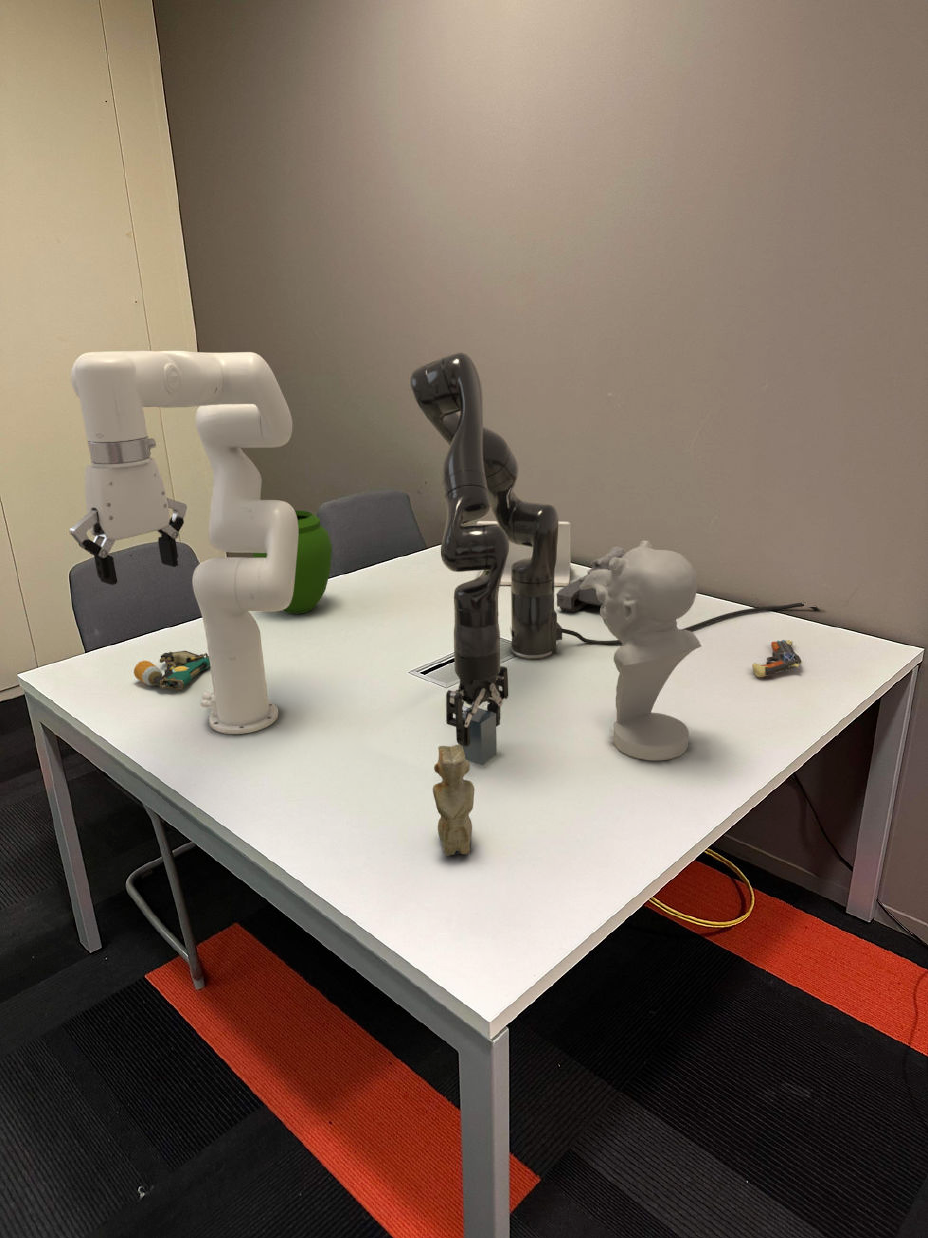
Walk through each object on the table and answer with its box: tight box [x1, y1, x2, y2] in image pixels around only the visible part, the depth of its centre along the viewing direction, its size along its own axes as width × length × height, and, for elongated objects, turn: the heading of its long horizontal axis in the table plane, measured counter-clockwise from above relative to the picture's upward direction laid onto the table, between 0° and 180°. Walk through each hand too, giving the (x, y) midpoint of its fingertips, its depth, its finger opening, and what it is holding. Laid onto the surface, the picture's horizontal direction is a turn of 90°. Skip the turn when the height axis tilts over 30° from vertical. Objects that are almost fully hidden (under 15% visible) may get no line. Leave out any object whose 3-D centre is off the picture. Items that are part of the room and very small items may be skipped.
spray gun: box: [133, 650, 210, 690], centre depth 180 cm, size 4×17×15 cm
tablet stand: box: [476, 520, 572, 587], centre depth 236 cm, size 18×25×17 cm
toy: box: [556, 546, 626, 613], centre depth 212 cm, size 25×20×15 cm
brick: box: [461, 707, 498, 766], centre depth 144 cm, size 4×5×8 cm
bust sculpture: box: [579, 540, 702, 761], centre depth 146 cm, size 16×24×35 cm
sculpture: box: [432, 743, 475, 856], centre depth 119 cm, size 6×7×15 cm
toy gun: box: [751, 639, 804, 678], centre depth 178 cm, size 3×19×10 cm
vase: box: [252, 510, 333, 615], centre depth 213 cm, size 20×20×24 cm
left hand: (140, 573), depth 121 cm, fingers open, 9 cm apart
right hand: (479, 734), depth 144 cm, fingers open, 8 cm apart
